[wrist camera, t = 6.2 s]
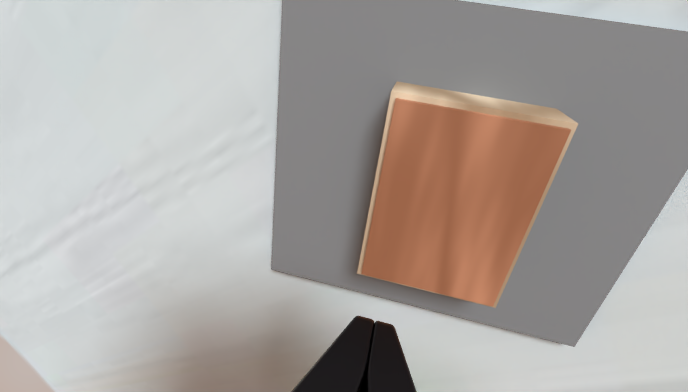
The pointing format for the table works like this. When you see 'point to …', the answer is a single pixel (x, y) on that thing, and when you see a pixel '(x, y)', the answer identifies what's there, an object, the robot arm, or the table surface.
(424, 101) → the maple tile
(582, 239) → the slate mat
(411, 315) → the table surface
